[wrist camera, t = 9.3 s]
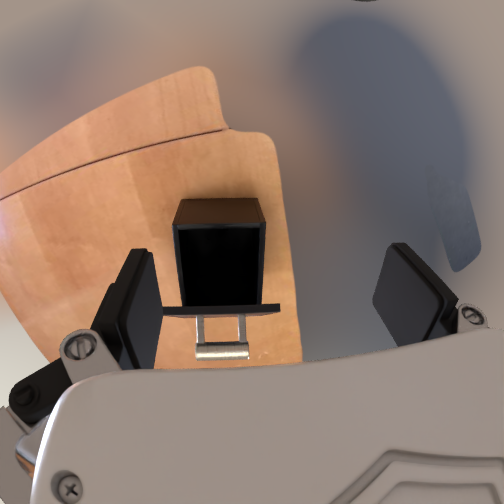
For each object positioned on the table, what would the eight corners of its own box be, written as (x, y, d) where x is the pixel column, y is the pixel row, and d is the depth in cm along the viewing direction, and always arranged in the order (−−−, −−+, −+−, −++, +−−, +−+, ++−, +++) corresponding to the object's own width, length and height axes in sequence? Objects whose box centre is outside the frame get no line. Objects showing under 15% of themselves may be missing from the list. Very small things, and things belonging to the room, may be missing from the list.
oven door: (160, 306, 25) (162, 362, 24) (280, 303, 26) (282, 359, 25) (182, 312, 39) (184, 349, 38) (261, 310, 40) (263, 346, 39)
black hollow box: (181, 199, 40) (171, 224, 32) (257, 197, 41) (266, 222, 34) (188, 277, 47) (183, 313, 39) (254, 275, 48) (261, 310, 40)
